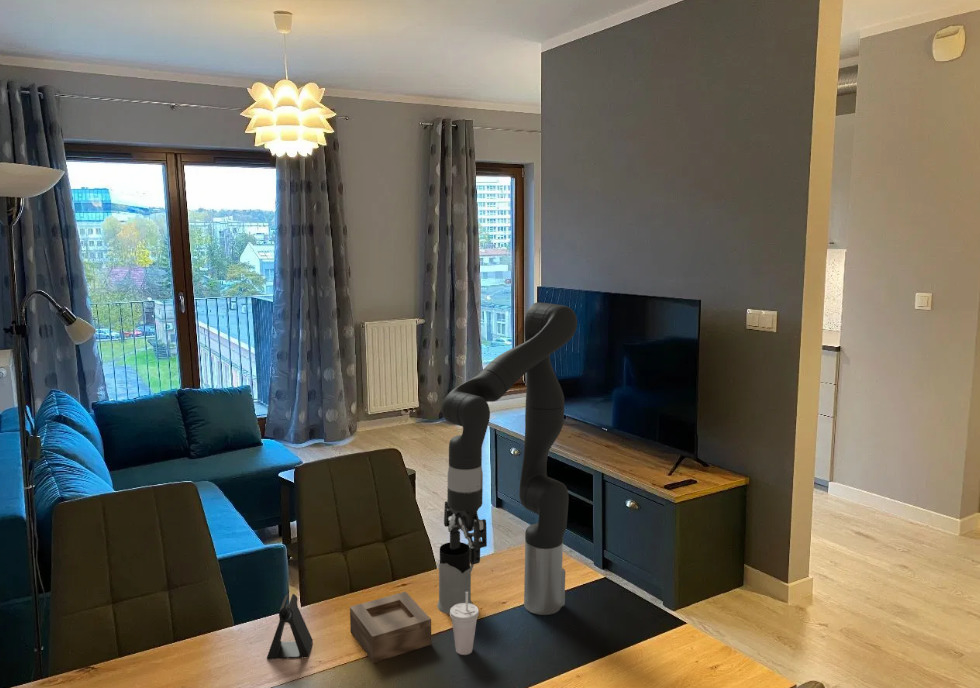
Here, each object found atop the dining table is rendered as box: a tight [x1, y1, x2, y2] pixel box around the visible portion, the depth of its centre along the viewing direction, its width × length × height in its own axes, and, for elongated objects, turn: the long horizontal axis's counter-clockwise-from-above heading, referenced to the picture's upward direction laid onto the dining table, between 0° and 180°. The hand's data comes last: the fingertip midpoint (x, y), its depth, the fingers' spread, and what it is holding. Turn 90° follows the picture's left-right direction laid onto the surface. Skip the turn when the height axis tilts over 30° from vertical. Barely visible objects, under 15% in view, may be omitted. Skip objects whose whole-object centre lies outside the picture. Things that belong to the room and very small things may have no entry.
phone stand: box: [266, 593, 314, 660], centre depth 161 cm, size 9×6×12 cm, turn 95°
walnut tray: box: [349, 591, 432, 664], centre depth 167 cm, size 14×14×6 cm
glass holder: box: [436, 540, 474, 615], centre depth 183 cm, size 9×14×15 cm, turn 151°
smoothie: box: [449, 592, 480, 656], centre depth 162 cm, size 6×6×14 cm
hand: (464, 555), depth 159 cm, fingers open, 8 cm apart
